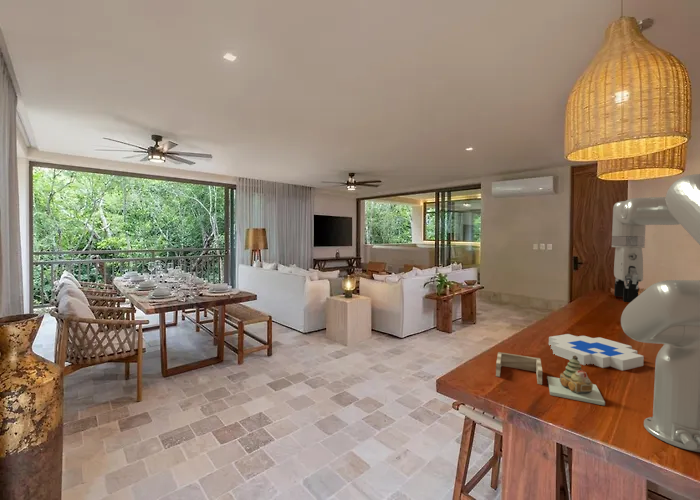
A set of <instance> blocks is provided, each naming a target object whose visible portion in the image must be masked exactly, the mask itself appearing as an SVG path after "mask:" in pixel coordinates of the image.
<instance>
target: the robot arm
mask: <svg viewBox="0 0 700 500" xmlns="http://www.w3.org/2000/svg"><path fill="white" fill-rule="evenodd" d="M612 207H613V208H612V226H611V227H612V231H611V248H615V251H614V261H613V262H614V263H613V264H614V266H613V275H614V277H615V279H614V291H613V292H614V293H613V294H614V297H618V298H619V297H621V298H622V301H623V302H624V303H628V304H627V305H626V307H625V308H624V309H623V311H622V314H621V316H620V326H621V328H622V330H623V332H624V334H625V335H626V336H627V337H628V338H630V339H631V340H634V341H635V342H639V343H645V344H658V345H660V344H662V345H663V346H661V348H660V349H659V351H658V352H657V354H656V357H655V366H654V367H655V368H654V385H653V387H654V388H653V402H652V403H653V404H652V405H653V406H652V407H653V408H652V416H649V417H646V418H645V419H644V420H643V427H644V429H646V431H647V432H648V433H649V434H651V435H652V436H654V437H655V438H657V439H659V440H660V441H663V442H665V443H667V444H668V445H671V446H674V447H677V448H680V449H682V450H687V451H691V452H694V453H695V452H696V453H700V280H699V279H698V280H693V279H691V280H689V279H687V280H686V279H685V280H684V279H670V280H663V281H662V280H661V281H657V282H654V283H653V284H651V285H650V286H648V287H647V288H646V289H645V290H644V291H642V292H641V293H640V294H639V282H640V283H641V282H643V280H644V257H643V256H644V255H643V248H645V245H646V227H647V226H669V225H670V226H675V225H676V226H677V225H680V226H682V227H683V229H684V230H686V232H687V233H688V235H690V236H691V237H692V238H693V240H694V241H695V242H696V243H697V244H699V245H700V173H694V174H689V175H686V176H683V177H681V178H679V179H677V180H675V181H674V182H673V183H672V184H671V185H670V186H669V188H668V189H667V191H666V195H665V196H659V197H657V196H655V197H654V196H653V197H652V196H651V197H633V198H630V199H626V200H623V201H621V200H620V201H617V202H616V203H614V205H613V206H612Z"/></svg>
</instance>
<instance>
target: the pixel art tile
mask: <svg viewBox="0 0 700 500" xmlns="http://www.w3.org/2000/svg"><path fill="white" fill-rule="evenodd" d="M550 345H551V346H550ZM548 346H550V350H551V349H552V355H554V354H555V356H557V357H561V358H562V359H563V358H564V359H566V360H569V361H570V359H572V358H573V356H577V357H578V359H577V360H578V361H579V362H580V363H579V364H580V365H581V366H582V365H583V366H587V365H593V364H594V366H597V367H599V368H602V369H604V368H609V367H610V368H614V369H616V370H619V371H626V370H631V369H636V368H640V367H643V366H644V362H645V361H644V360H645V359H644V357H645V355H642V354H640V353H639V354H638V352H639V351H638V350H636V349H634V348H633V347H632V345H629V344H627V343H626V344H625V343H622V342H619V341H615V340H611V339H607V338H603V337H601V336H600V337H599V336H598V337H590V336H586V335H579V336H578V335H573V334H570V333H565V334H560V335H553V336H552V335H551V336H548ZM586 364H587V365H586Z"/></svg>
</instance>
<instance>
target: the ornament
mask: <svg viewBox="0 0 700 500" xmlns="http://www.w3.org/2000/svg"><path fill="white" fill-rule="evenodd" d="M577 359H578V357H577V356H573V358H572V359H570V360H569V362H567V365H566V366H565V370H564V371H563V372H561V373H560V374H559V378H560V382H561V384H562V386H564V387H568V388H569V389H570V390H571V391H573V392H576V393H590V392H592V387H593V384H594V383H593V382H592V381H591V380H590V378H589V376H588V374H587V372H586V371H585V370H583V369H582V364H579V363H580V362H579V361H578V360H577Z"/></svg>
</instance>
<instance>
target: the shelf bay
mask: <svg viewBox="0 0 700 500" xmlns="http://www.w3.org/2000/svg"><path fill="white" fill-rule="evenodd" d="M496 356H497V358H496V364H495V377H499V378H500V377H501V370H502V367H507V368H512V369H519V370H525V371H529V372H530V371H531V372H536V373H535V374H536V381H537V385H543V367H542V359H541V358H540V357H535V356H534V357H532V356H527V355H520V354H514V353H507V352H500V351H498V352H497V355H496Z"/></svg>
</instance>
